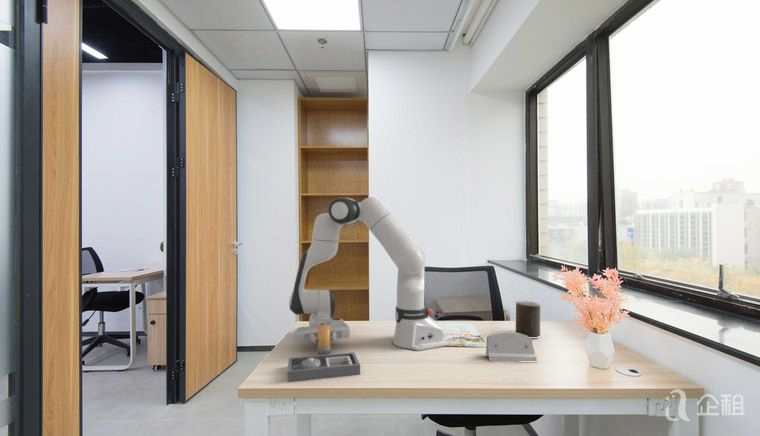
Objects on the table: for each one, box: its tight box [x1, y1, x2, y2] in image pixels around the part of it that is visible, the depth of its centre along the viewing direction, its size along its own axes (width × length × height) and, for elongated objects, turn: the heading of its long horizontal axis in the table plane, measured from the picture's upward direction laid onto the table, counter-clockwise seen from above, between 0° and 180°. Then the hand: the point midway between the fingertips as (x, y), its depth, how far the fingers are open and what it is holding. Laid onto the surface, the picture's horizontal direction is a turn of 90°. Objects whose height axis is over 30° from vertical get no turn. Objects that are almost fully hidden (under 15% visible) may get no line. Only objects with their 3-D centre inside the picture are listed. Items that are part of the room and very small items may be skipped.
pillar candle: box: [515, 299, 541, 337], centre depth 148 cm, size 10×10×15 cm
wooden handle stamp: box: [316, 325, 332, 355], centre depth 124 cm, size 5×5×10 cm
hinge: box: [485, 331, 538, 362], centre depth 123 cm, size 17×5×10 cm, turn 86°
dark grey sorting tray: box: [287, 351, 361, 383], centre depth 111 cm, size 22×11×4 cm, turn 104°
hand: (324, 339), depth 123 cm, fingers closed on wooden handle stamp, 4 cm apart
